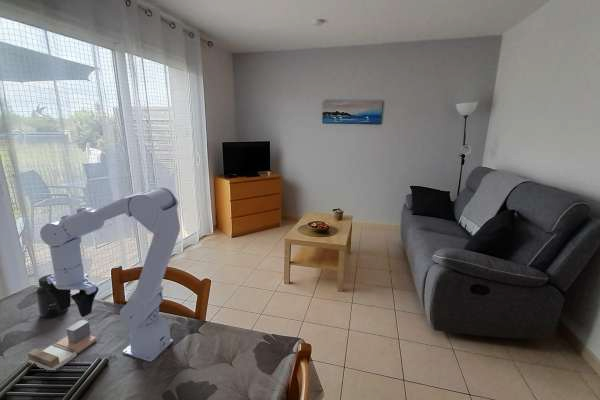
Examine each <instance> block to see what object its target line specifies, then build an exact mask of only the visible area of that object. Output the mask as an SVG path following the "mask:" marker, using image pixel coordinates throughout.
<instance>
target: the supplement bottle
mask: <svg viewBox="0 0 600 400" xmlns="http://www.w3.org/2000/svg"><path fill="white" fill-rule="evenodd" d="M51 275H53V273H51V274H47V275H44V276H41V277H40V278H39V279H38V288H36V290H35V296H36V301H37V306H38V307H37V308H38V313H39V316H40V317H41V318H43V319H50V318H51V319H53V318H55V317H58V316H61V315H63V314H65V313H66V311H68V309H69V308H67V309H65V310H63V311H61V310H60V309H59V307H58V306H57V304H56V302H55V301H54V299H53V298H52V297H51V296H50V295H49V294H48V293H47V292H46V291H45V289H46V288H48V287H50V286H51V284H48V281H47V277H49V276H51Z"/></svg>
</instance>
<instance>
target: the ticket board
mask: <svg viewBox="0 0 600 400" xmlns="http://www.w3.org/2000/svg"><path fill="white" fill-rule="evenodd" d="M77 354H78V353H76V351H73V350H70V349H67V348H64V347H61V346H58V345H56V343H53V344H52V345H50V346H48V347H45V349H43V350H40V349H37V348H34V349H32V350H31V351H29V352H27V356H28V362H30V363H36V365H37V366H36V367H38V368H40V369H42V368H44V369H43V370H45V369H49V370H54V369H57V368H58V369H60V368H61V367H63V366H64V365H66V364H67V363H68V362H70V361H71V360H73V359H74V358H75V357H77ZM30 363H29V364H30ZM59 367H60V368H59ZM58 369H57V370H58Z"/></svg>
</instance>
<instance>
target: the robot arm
mask: <svg viewBox="0 0 600 400" xmlns="http://www.w3.org/2000/svg"><path fill="white" fill-rule="evenodd" d="M178 207H179V200H178V199H177V197H176V196H175V195H174V193H173V192H172V191H171V190H170V189H168V188H167V187H162V186H161V187H160V186H159V187H157V188H154V189H153V190H146V191H141V192H138V193H134V194H131V195H128V196H124V197H122V198H120V199H117V200H115V201H114V202H111V203H109V204H106V205H104V206H102V207H100V208H98V209H97V208H95V207H85V206H83V207H81V208H77V209H76V210H75V211H76V212H74V213H72V214H71V215H69V214H66V215H63V216H61V217H60V219H59V220H56V221H53V222H48V223H46V224H45V225H43V226H42V227H41V228H40V234H39V235H40V238H41V240H42V241H43V242H44V243H45V244H46V245H47V246H49V250H50V256H51V257H50V258H51V262H52V267H53V268H52V269H53V273H54V274H53V273H52V274H53V275H51V274H50V275H51V276H49V277H47V281H48V284H51V286H50V287H48V288H46V289H45V291H46V292H47V293H48V294H49V295H50V296H51V297H52V298H53V299H54V301H55V302H56V304H57V306H58V307H59V309H60V310H61V311H63V310H65V309H67V308H68V309H69V308H70V307H71V303H72V302H71V301H72V300H73V301H74V302H75V304H76V306H77V309H78V313H79V315H80V316H81V318H85V317H87V316H89V315H90V314H92V309H93V305H94V304H93V303H94V301H95V298H96V295H97V294H98V292H99V287H98V286H97V285H96V283H94V282H92V281H91V280H89V279H88V277H90V276H89V274H88V273H86V272H84V265H83V257H82V252H81V243H82V237H83V236H85V235H88V234H91V233H93V232H95V231H98V230H100V229H102V228H103V227H104V225H105V221H107V220H111V219H113V218H116V217H119V216H120V215H124V214H126V216H127V217H129V218H131V217H133V218H134V219H135V220H136V221H137V222H139V223H140V224H141V225H142V226H143V227H144V228H146V229H147V230H148V231H149V232H150V233H152V234H153V236H152V240H151V243H150V246H149V248H148V251H147V253H146V254H147V255H146V257H145V260H144V263H143V265H142V266H143V267H142V270H141V273H140V275H139V278H138V282H137V285H136V288H135V289H134V290H133V292H132V293H131V295H130V296H129V298H128V299H127V302H126V304H125V305H124V306H123V307H122V308H121V309H120V310H119V314H118V315H119V319H120V320H121V322H122V323H123V324H124V325H125V326H126V327H128V337H129V343H130V344H129V345H128V346H126V348H124V349H123V350H122V353H123V354H124V355H129V356H131V357H133V358H137V359H141V360H144V361H147V362H150V363H151V362H153V361H154V360H155V359H156V358H157V357H158V356H159V355H160V354H161V353H162V352H163V351H165V349H166V348H168V346H170V345H171V344H172V343H173V341H174V339H173V338H171V328H170V322H169V321H168V320H165V319H164V318H163V317H162V316H161V315H160V305H161V304H162V303H163V299H164V295H163V290H164V286H163V285H162V282H163V279H164V277H165V275H166V270H167V268H168V265H169V262H170V260H171V256H172V253H173V251H174V249H175V245H176V242H177V239H178V237H179V234H180V230H181V225H180V220H179V214H178ZM72 290H73V291H74V290H76V291H77V290H78V291H79V292H77V293H74V294H73V295H71V293H72V292H71V291H72ZM71 299H72V300H71ZM68 309H67V310H68Z"/></svg>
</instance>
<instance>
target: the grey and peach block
mask: <svg viewBox="0 0 600 400" xmlns="http://www.w3.org/2000/svg"><path fill="white" fill-rule="evenodd" d="M66 333H67V335H66V336H65V337H63V338H62V339H60V340H59V341H57V342H56V343H55V344H56V345H58V346H61V347H64V348H67V349H70V350H73V351H76V354H79V353H81V352H82V351H84V350H85V349H86V348H88V347H89V346H91V345H93V343H95V342H96V341H97V336H93V335H91V334H92V333H91V327H90V322H89V320H86V319H85V320H84V319H81V320H79V321H77V322H75V323H74V324H72V325H71V326H69V327H67V328H66Z"/></svg>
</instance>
